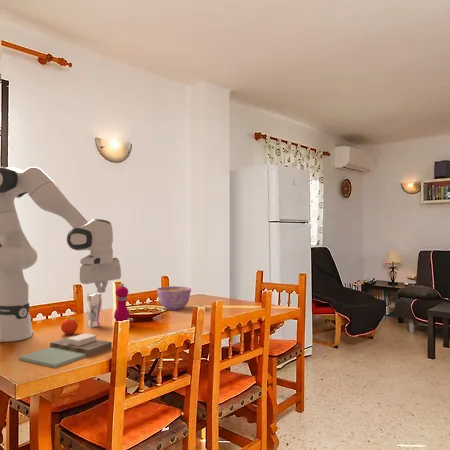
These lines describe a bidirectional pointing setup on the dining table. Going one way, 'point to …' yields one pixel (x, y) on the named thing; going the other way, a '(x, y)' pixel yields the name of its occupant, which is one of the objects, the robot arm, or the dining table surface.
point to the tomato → (69, 326)
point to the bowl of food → (173, 296)
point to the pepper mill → (121, 304)
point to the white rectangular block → (81, 339)
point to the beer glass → (94, 309)
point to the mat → (52, 357)
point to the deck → (83, 346)
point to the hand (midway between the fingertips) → (101, 292)
